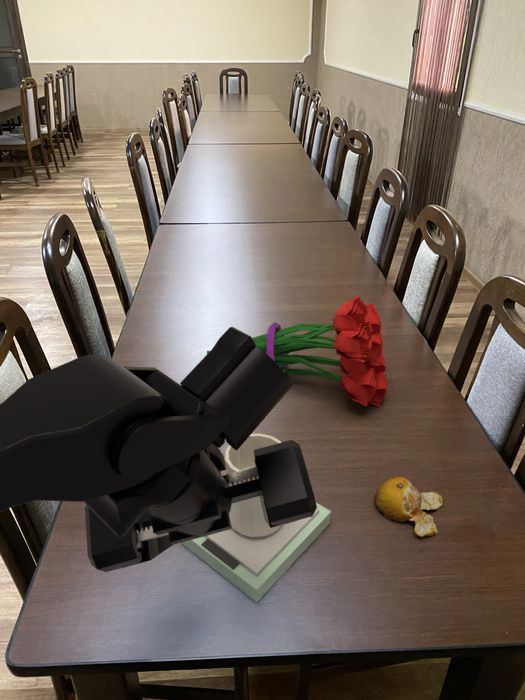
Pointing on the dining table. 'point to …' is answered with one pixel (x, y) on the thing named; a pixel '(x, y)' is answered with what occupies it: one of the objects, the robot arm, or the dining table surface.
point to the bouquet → (350, 342)
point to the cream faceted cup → (249, 511)
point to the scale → (259, 552)
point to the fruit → (408, 504)
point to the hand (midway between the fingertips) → (220, 524)
